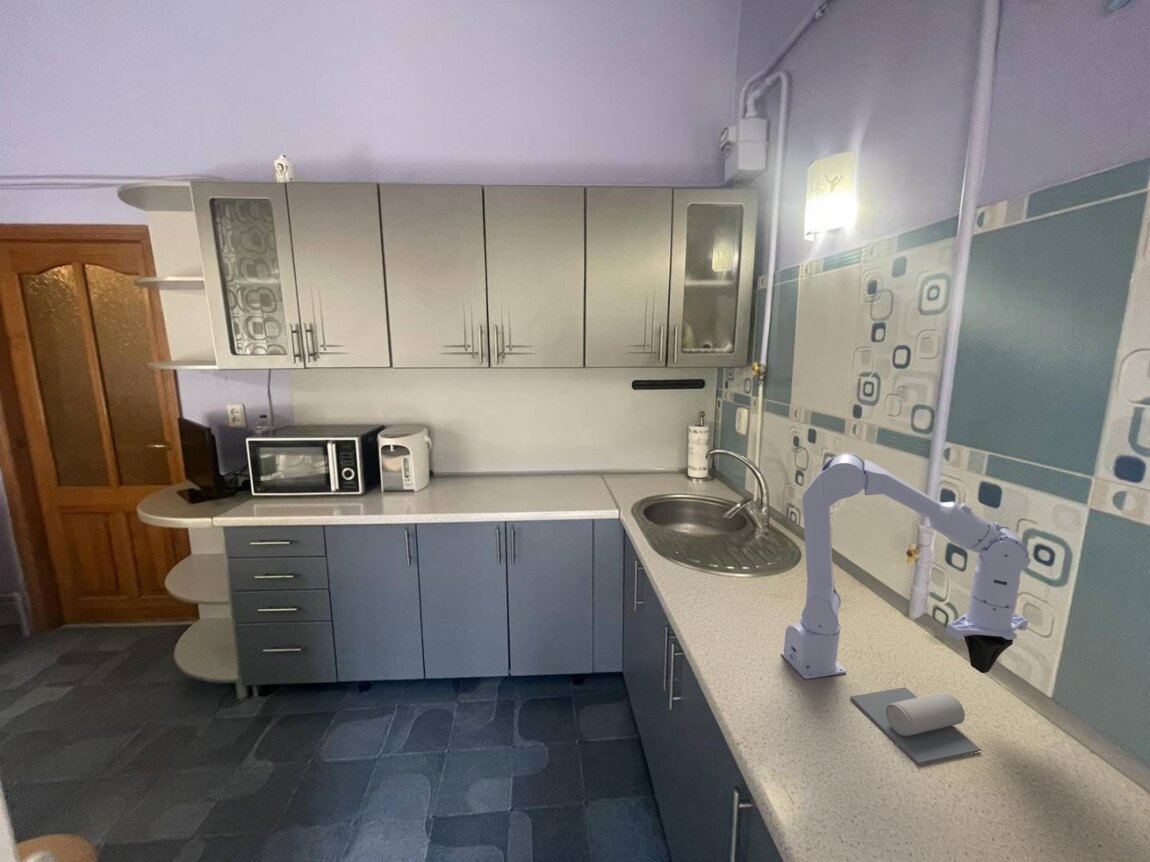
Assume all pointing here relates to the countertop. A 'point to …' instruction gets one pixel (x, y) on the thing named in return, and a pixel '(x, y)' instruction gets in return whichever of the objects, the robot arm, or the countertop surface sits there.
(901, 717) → the beverage can
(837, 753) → the countertop surface
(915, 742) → the mat
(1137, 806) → the countertop surface
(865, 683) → the countertop surface
